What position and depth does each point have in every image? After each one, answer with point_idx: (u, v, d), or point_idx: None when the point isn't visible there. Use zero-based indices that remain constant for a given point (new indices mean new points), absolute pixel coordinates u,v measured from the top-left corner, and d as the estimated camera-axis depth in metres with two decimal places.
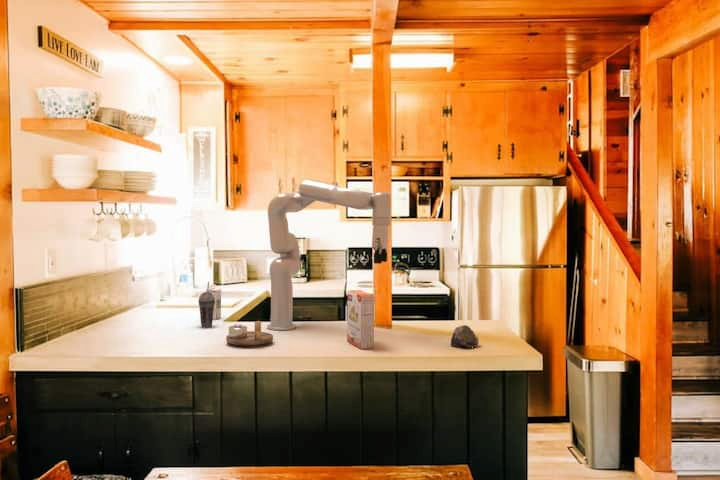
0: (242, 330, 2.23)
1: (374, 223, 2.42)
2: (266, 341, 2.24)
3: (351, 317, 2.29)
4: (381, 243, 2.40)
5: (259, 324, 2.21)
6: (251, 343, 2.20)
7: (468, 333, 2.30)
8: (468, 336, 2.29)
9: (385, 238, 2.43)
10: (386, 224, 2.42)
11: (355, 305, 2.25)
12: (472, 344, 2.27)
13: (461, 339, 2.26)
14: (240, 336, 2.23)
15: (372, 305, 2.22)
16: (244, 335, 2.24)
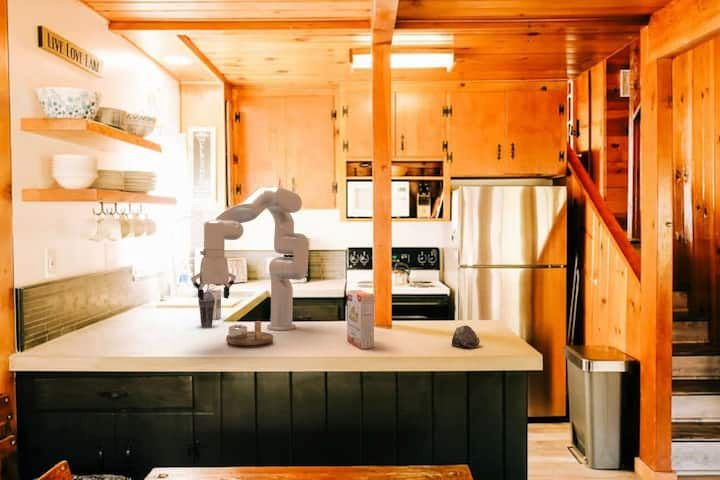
0: (242, 330, 2.23)
1: (223, 255, 2.19)
2: (266, 341, 2.24)
3: (351, 317, 2.29)
4: None
5: (259, 324, 2.21)
6: (251, 343, 2.20)
7: (469, 333, 2.30)
8: (469, 336, 2.29)
9: None
10: None
11: (355, 305, 2.25)
12: (473, 344, 2.27)
13: (462, 339, 2.26)
14: (240, 336, 2.23)
15: (372, 305, 2.22)
16: (244, 335, 2.24)
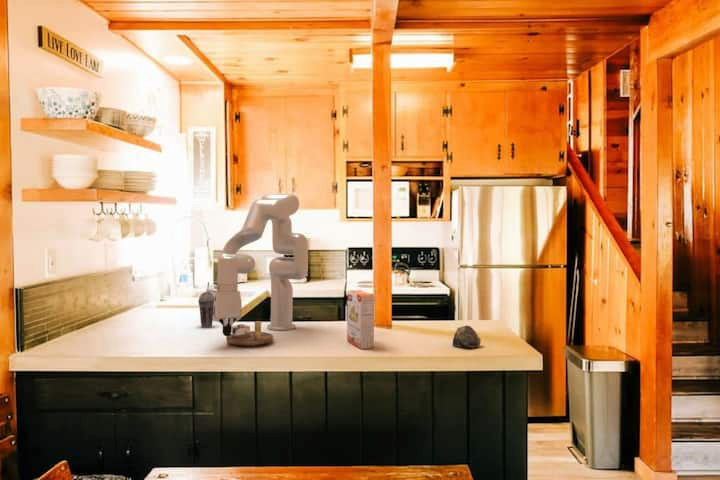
0: (245, 330, 2.24)
1: (237, 290, 2.22)
2: (266, 341, 2.24)
3: (351, 317, 2.29)
4: None
5: (259, 324, 2.21)
6: (251, 343, 2.20)
7: (470, 333, 2.30)
8: (470, 336, 2.29)
9: None
10: None
11: (355, 305, 2.25)
12: (474, 344, 2.27)
13: (463, 339, 2.25)
14: (243, 336, 2.23)
15: (372, 305, 2.22)
16: (247, 335, 2.24)
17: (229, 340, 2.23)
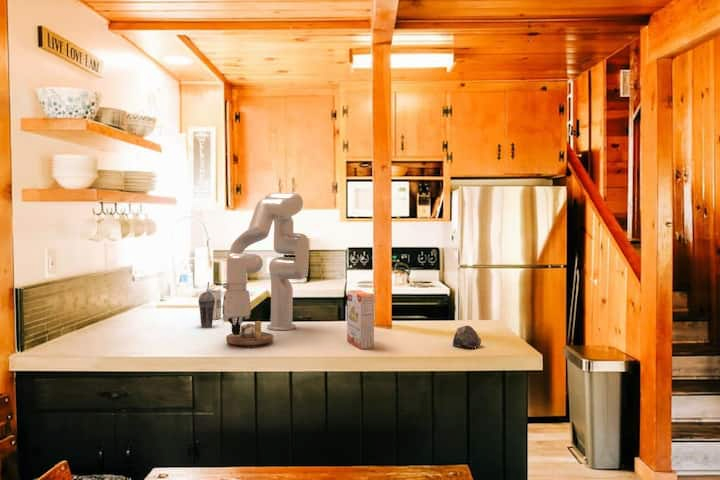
0: (254, 329, 2.25)
1: None
2: (266, 341, 2.24)
3: (351, 317, 2.29)
4: None
5: (259, 324, 2.21)
6: (251, 343, 2.20)
7: (470, 333, 2.30)
8: (470, 336, 2.29)
9: None
10: None
11: (355, 305, 2.25)
12: (474, 344, 2.27)
13: (463, 339, 2.25)
14: (252, 335, 2.25)
15: (372, 305, 2.22)
16: None
17: (229, 340, 2.23)
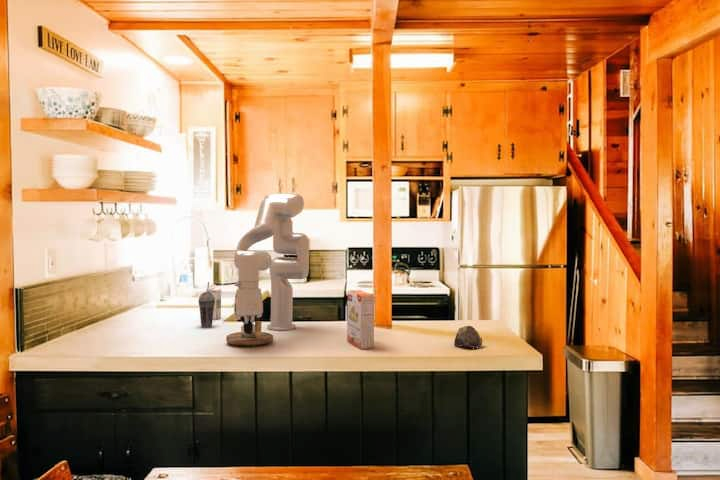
0: None
1: None
2: (266, 341, 2.24)
3: (351, 317, 2.29)
4: None
5: (259, 324, 2.21)
6: (251, 343, 2.20)
7: (472, 334, 2.29)
8: (472, 337, 2.28)
9: None
10: None
11: (355, 305, 2.25)
12: (475, 345, 2.26)
13: (464, 339, 2.25)
14: (253, 335, 2.25)
15: (372, 305, 2.22)
16: None
17: (229, 340, 2.23)
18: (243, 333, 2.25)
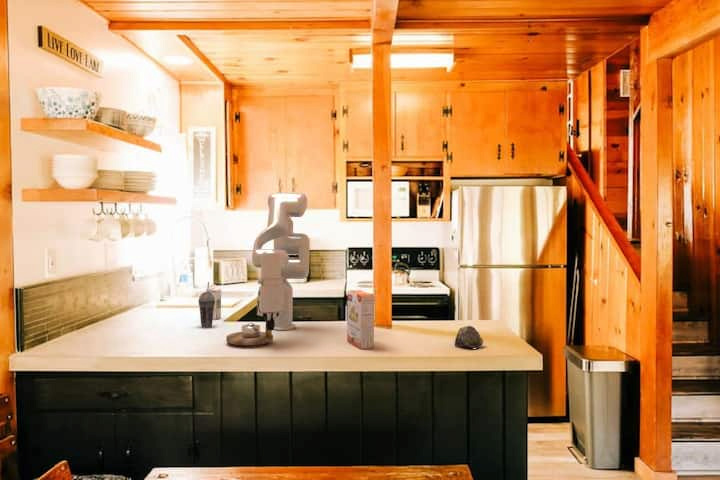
0: (259, 327, 2.29)
1: (280, 284, 2.24)
2: None
3: (351, 317, 2.29)
4: None
5: None
6: (269, 340, 2.25)
7: (472, 334, 2.29)
8: (472, 337, 2.28)
9: None
10: None
11: (355, 305, 2.25)
12: (476, 345, 2.26)
13: (464, 339, 2.25)
14: (259, 333, 2.28)
15: (372, 305, 2.22)
16: None
17: (246, 342, 2.20)
18: (251, 333, 2.25)
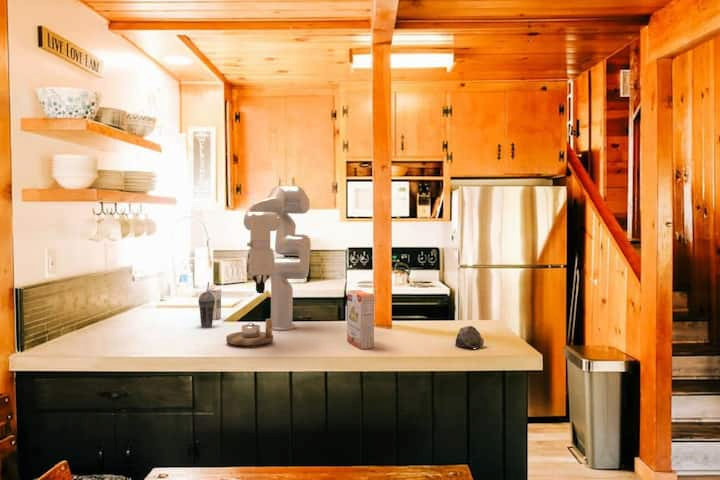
0: (259, 327, 2.29)
1: None
2: None
3: (351, 317, 2.29)
4: None
5: (271, 321, 2.28)
6: (269, 340, 2.25)
7: (473, 334, 2.29)
8: (473, 337, 2.28)
9: None
10: None
11: (355, 305, 2.25)
12: (476, 345, 2.26)
13: (465, 340, 2.25)
14: (259, 333, 2.28)
15: (372, 305, 2.22)
16: None
17: (246, 342, 2.20)
18: (251, 333, 2.25)
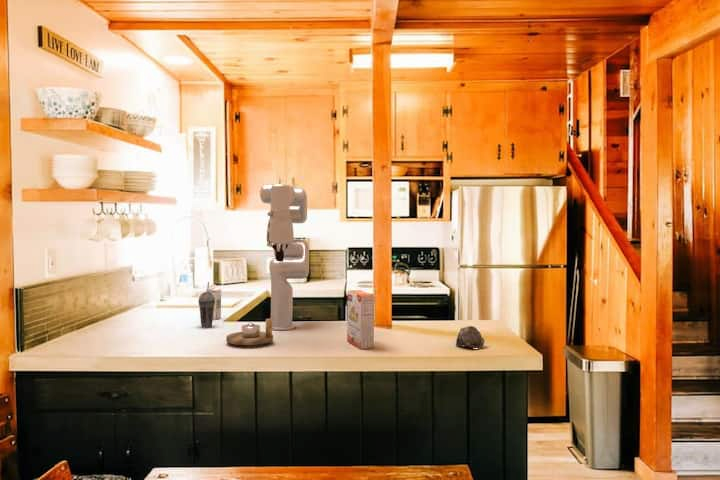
0: (259, 327, 2.29)
1: (289, 217, 2.32)
2: None
3: (351, 317, 2.29)
4: None
5: (271, 321, 2.28)
6: (269, 340, 2.25)
7: (474, 334, 2.29)
8: (473, 337, 2.28)
9: None
10: None
11: (355, 305, 2.25)
12: (477, 345, 2.26)
13: (465, 340, 2.25)
14: (259, 333, 2.28)
15: (372, 305, 2.22)
16: None
17: (246, 342, 2.20)
18: (251, 333, 2.25)
